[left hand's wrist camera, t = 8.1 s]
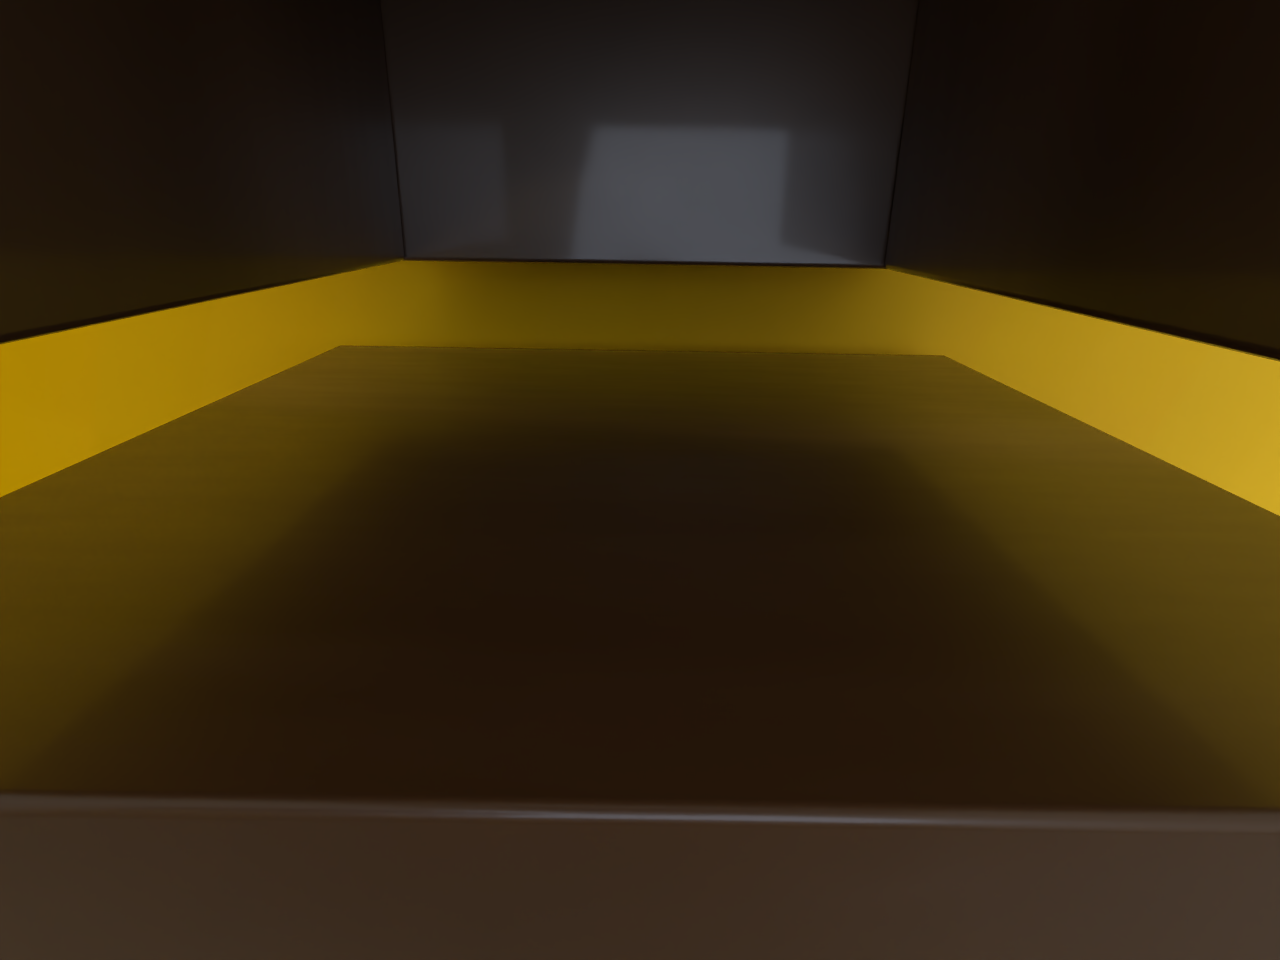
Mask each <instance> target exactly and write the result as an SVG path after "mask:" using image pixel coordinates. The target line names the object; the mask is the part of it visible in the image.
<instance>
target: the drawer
mask: <svg viewBox="0 0 1280 960" xmlns="http://www.w3.org/2000/svg"><path fill="white" fill-rule="evenodd" d="M399 261H455V262H513V263H571V264H630V265H688V266H747V267H805V268H863V269H890V270H894V271H898V272H902V273H906V274H911V275H915V276H919V277H923V278H928V279H932V280H936V281H940V282H945V283H949V284H953V285H957V286H962V287H966V288H970V289H974V290H979V291H983V292H987V293H991V294H995V295H1000V296H1004V297H1008V298H1012V299H1017V300H1021V301H1025V302H1029V303H1034V304H1038V305H1042V306H1046V307H1051V308H1055V309H1059V310H1063V311H1068V312H1072V313H1076V314H1080V315H1085V316H1089V317H1093V318H1097V319H1102V320H1106V321H1110V322H1114V323H1119V324H1123V325H1127V326H1131V327H1136V328H1140V329H1144V330H1148V331H1153V332H1157V333H1161V334H1165V335H1170V336H1174V337H1178V338H1182V339H1186V340H1191V341H1195V342H1199V343H1203V344H1208V345H1212V346H1216V347H1220V348H1225V349H1229V350H1233V351H1237V352H1242V353H1246V354H1250V355H1254V356H1259V357H1263V358H1267V359H1271V360H1276V361H1280V0H0V344H4V343H9V342H14V341H19V340H24V339H28V338H33V337H38V336H43V335H48V334H52V333H57V332H62V331H67V330H72V329H76V328H81V327H86V326H91V325H96V324H101V323H105V322H110V321H115V320H120V319H125V318H129V317H134V316H139V315H144V314H149V313H153V312H158V311H163V310H168V309H173V308H178V307H182V306H187V305H192V304H197V303H202V302H206V301H211V300H216V299H221V298H226V297H230V296H235V295H240V294H245V293H250V292H255V291H259V290H264V289H269V288H274V287H279V286H283V285H288V284H293V283H298V282H303V281H307V280H312V279H317V278H322V277H327V276H332V275H336V274H341V273H346V272H351V271H356V270H360V269H365V268H370V267H375V266H380V265H384V264H389V263H394V262H399ZM0 960H1280V516H1278V515H1276V514H1274V513H1272V512H1270V511H1268V510H1266V509H1264V508H1261V507H1259V506H1257V505H1255V504H1253V503H1251V502H1249V501H1247V500H1245V499H1243V498H1241V497H1238V496H1236V495H1234V494H1232V493H1230V492H1228V491H1226V490H1224V489H1222V488H1220V487H1218V486H1215V485H1213V484H1211V483H1209V482H1207V481H1205V480H1203V479H1201V478H1199V477H1197V476H1195V475H1192V474H1190V473H1188V472H1186V471H1184V470H1182V469H1180V468H1178V467H1176V466H1174V465H1171V464H1169V463H1167V462H1165V461H1163V460H1161V459H1159V458H1157V457H1155V456H1153V455H1151V454H1148V453H1146V452H1144V451H1142V450H1140V449H1138V448H1136V447H1134V446H1132V445H1130V444H1128V443H1125V442H1123V441H1121V440H1119V439H1117V438H1115V437H1113V436H1111V435H1109V434H1107V433H1105V432H1102V431H1100V430H1098V429H1096V428H1094V427H1092V426H1090V425H1088V424H1086V423H1084V422H1082V421H1079V420H1077V419H1075V418H1073V417H1071V416H1069V415H1067V414H1065V413H1063V412H1061V411H1059V410H1056V409H1054V408H1052V407H1050V406H1048V405H1046V404H1044V403H1042V402H1040V401H1038V400H1036V399H1033V398H1031V397H1029V396H1027V395H1025V394H1023V393H1021V392H1019V391H1017V390H1015V389H1013V388H1010V387H1008V386H1006V385H1004V384H1002V383H1000V382H998V381H996V380H994V379H992V378H990V377H987V376H985V375H983V374H981V373H979V372H977V371H975V370H973V369H971V368H969V367H967V366H964V365H962V364H960V363H958V362H956V361H954V360H952V359H950V358H948V357H946V356H933V355H873V354H813V353H753V352H693V351H633V350H573V349H513V348H453V347H393V346H338V347H336V348H334V349H332V350H329V351H327V352H325V353H323V354H320V355H318V356H316V357H314V358H312V359H309V360H307V361H305V362H303V363H300V364H298V365H296V366H294V367H291V368H289V369H287V370H285V371H282V372H280V373H278V374H276V375H273V376H271V377H269V378H267V379H265V380H262V381H260V382H258V383H256V384H253V385H251V386H249V387H247V388H244V389H242V390H240V391H238V392H235V393H233V394H231V395H229V396H226V397H224V398H222V399H220V400H217V401H215V402H213V403H211V404H209V405H206V406H204V407H202V408H200V409H197V410H195V411H193V412H191V413H188V414H186V415H184V416H182V417H179V418H177V419H175V420H173V421H170V422H168V423H166V424H164V425H162V426H159V427H157V428H155V429H153V430H150V431H148V432H146V433H144V434H141V435H139V436H137V437H135V438H132V439H130V440H128V441H126V442H123V443H121V444H119V445H117V446H115V447H112V448H110V449H108V450H106V451H103V452H101V453H99V454H97V455H94V456H92V457H90V458H88V459H85V460H83V461H81V462H79V463H76V464H74V465H72V466H70V467H68V468H65V469H63V470H61V471H59V472H56V473H54V474H52V475H50V476H47V477H45V478H43V479H41V480H38V481H36V482H34V483H32V484H29V485H27V486H25V487H23V488H21V489H18V490H16V491H14V492H12V493H9V494H7V495H5V496H3V497H0Z"/></svg>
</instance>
